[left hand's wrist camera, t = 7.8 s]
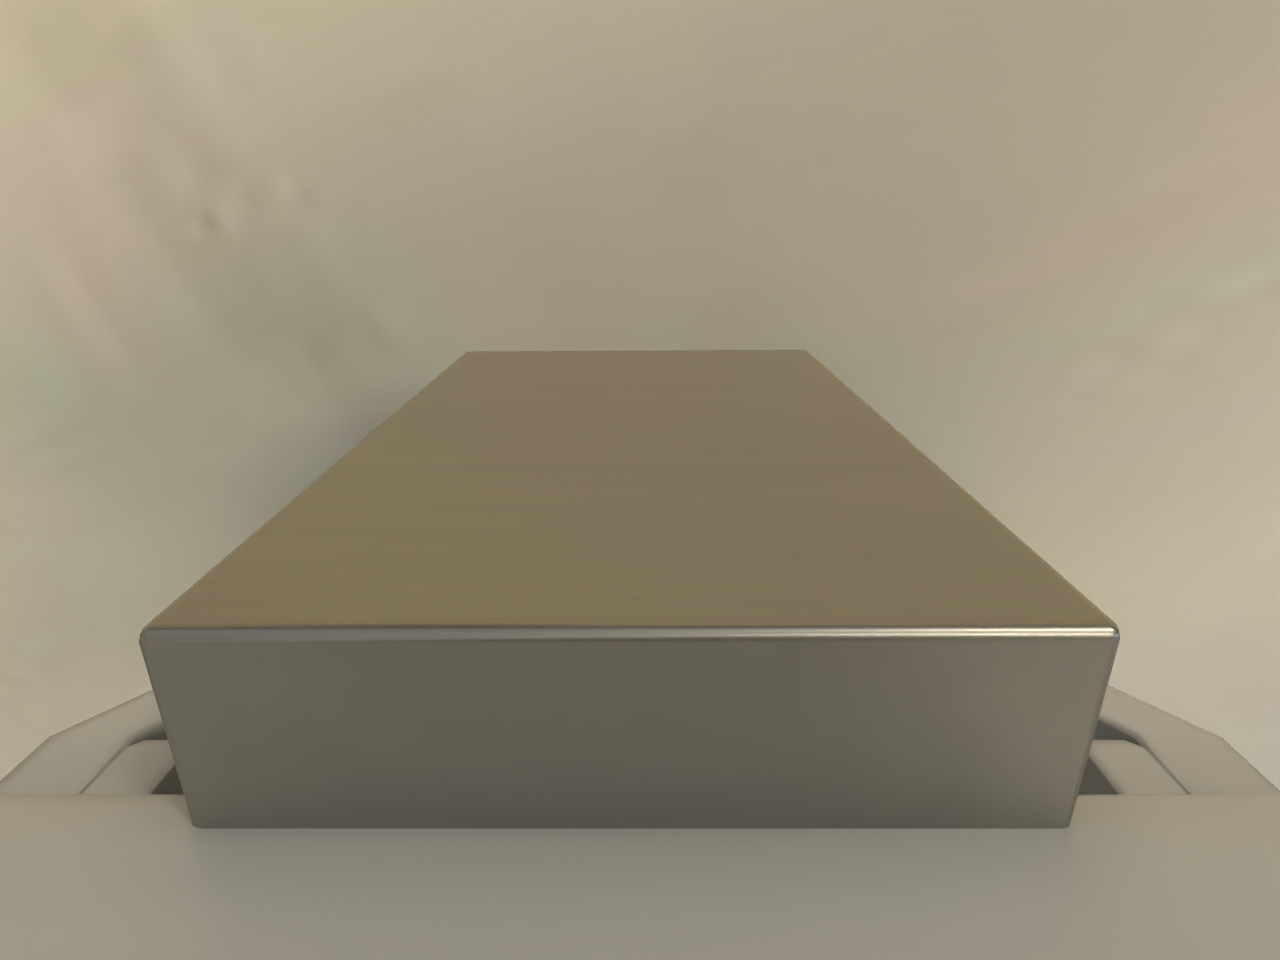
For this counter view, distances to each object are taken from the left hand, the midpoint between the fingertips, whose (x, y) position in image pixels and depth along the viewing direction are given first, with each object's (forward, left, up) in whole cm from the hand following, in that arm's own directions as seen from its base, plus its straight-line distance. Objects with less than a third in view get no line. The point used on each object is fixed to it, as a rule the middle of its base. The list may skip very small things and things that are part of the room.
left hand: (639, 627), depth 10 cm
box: (+9, 0, -4) cm, 10 cm away
